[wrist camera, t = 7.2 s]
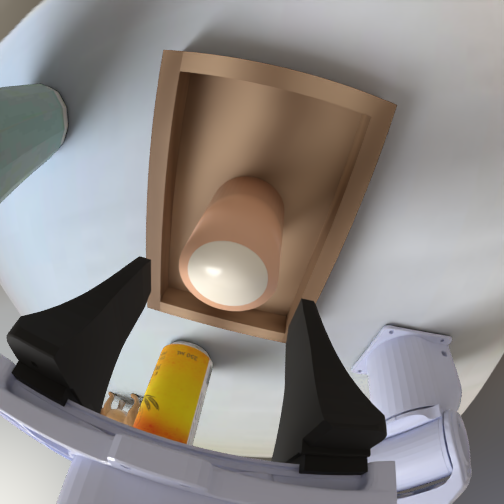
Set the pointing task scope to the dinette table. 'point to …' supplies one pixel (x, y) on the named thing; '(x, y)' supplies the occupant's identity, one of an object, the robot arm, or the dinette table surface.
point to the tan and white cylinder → (236, 246)
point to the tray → (257, 172)
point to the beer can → (176, 393)
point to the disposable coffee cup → (28, 131)
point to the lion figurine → (119, 413)
